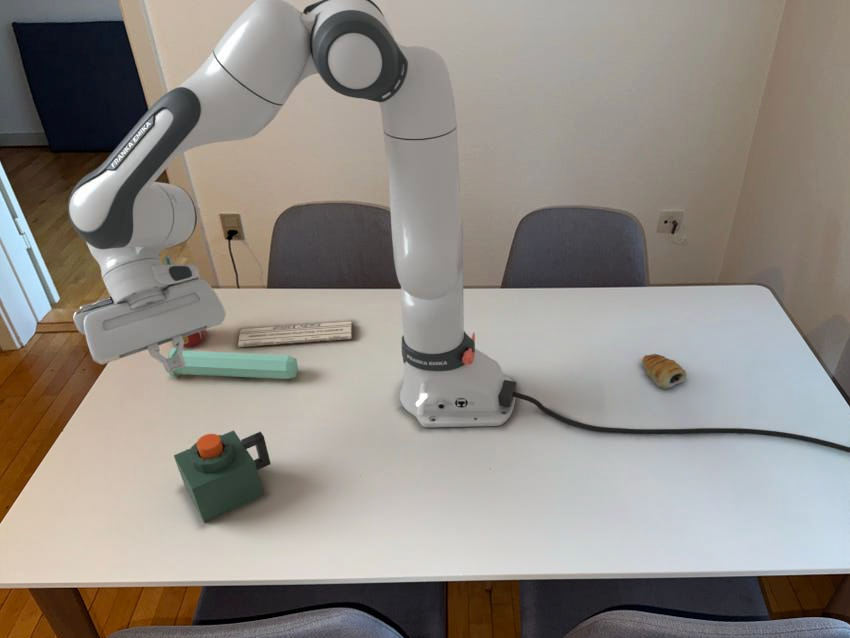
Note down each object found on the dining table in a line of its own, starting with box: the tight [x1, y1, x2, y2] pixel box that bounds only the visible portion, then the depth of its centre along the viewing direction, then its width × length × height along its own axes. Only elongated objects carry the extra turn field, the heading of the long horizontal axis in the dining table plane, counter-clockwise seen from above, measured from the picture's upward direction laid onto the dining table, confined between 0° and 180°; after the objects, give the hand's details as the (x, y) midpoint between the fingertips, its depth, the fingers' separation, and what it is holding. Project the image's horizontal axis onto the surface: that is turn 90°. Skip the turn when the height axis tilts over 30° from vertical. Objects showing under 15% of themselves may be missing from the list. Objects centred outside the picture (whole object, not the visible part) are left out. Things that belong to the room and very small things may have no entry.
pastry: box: [641, 353, 687, 390], centre depth 142 cm, size 9×7×4 cm
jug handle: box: [240, 431, 272, 471], centre depth 118 cm, size 3×1×7 cm, turn 126°
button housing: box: [173, 430, 264, 524], centre depth 115 cm, size 10×9×10 cm
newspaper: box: [237, 320, 353, 348], centre depth 153 cm, size 24×7×2 cm, turn 98°
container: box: [167, 347, 299, 380], centre depth 141 cm, size 6×6×25 cm
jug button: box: [196, 433, 223, 459], centre depth 111 cm, size 4×4×2 cm
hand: (176, 368), depth 110 cm, fingers closed
